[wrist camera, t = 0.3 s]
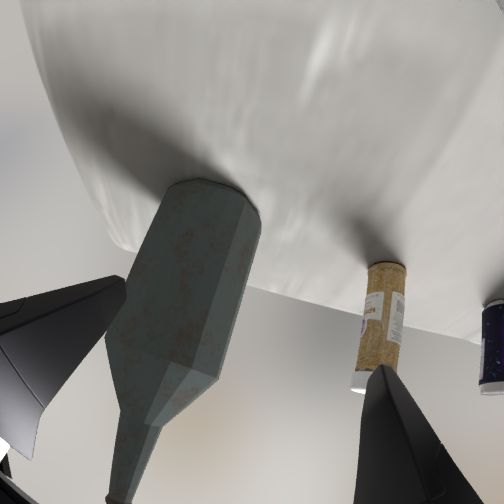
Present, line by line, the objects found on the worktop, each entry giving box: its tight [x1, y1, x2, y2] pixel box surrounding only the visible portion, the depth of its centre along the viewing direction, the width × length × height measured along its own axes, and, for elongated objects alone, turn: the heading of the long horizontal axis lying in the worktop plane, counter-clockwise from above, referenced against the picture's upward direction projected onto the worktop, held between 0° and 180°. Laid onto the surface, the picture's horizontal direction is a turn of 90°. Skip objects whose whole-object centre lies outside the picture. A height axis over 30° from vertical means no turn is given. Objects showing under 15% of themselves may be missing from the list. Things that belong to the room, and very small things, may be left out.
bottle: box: [105, 179, 261, 504], centre depth 25 cm, size 10×10×30 cm
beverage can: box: [479, 300, 504, 395], centre depth 29 cm, size 6×6×12 cm
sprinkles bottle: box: [350, 262, 407, 394], centre depth 30 cm, size 5×5×13 cm
